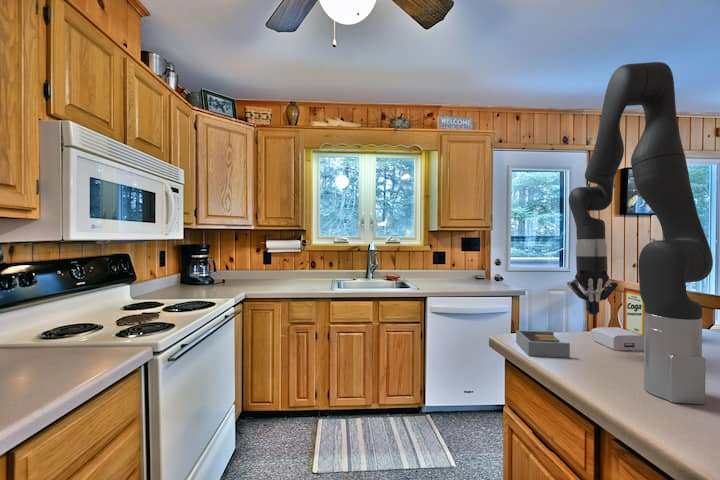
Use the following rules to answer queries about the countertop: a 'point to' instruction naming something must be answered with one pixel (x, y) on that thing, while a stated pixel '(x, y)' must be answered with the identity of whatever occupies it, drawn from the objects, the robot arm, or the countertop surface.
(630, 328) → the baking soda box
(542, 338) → the brown wooden block
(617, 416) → the countertop surface
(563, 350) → the box
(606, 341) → the charger
